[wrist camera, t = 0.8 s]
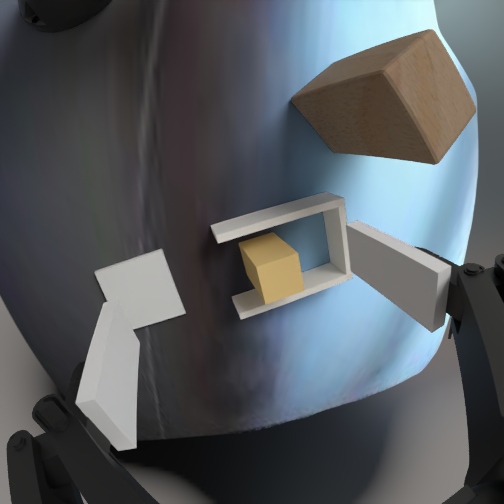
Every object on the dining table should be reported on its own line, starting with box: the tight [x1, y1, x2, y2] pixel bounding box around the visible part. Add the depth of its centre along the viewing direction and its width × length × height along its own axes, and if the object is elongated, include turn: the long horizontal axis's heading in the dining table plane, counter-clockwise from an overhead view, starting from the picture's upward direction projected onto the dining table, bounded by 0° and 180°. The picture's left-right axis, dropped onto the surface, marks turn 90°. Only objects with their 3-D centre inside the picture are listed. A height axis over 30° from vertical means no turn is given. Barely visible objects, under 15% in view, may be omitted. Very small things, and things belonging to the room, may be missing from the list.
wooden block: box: [291, 29, 476, 165], centre depth 30 cm, size 10×10×20 cm
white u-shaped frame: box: [210, 192, 353, 320], centre depth 41 cm, size 12×17×5 cm
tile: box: [94, 249, 186, 329], centre depth 40 cm, size 10×10×1 cm
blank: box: [239, 232, 305, 304], centre depth 39 cm, size 5×5×9 cm
